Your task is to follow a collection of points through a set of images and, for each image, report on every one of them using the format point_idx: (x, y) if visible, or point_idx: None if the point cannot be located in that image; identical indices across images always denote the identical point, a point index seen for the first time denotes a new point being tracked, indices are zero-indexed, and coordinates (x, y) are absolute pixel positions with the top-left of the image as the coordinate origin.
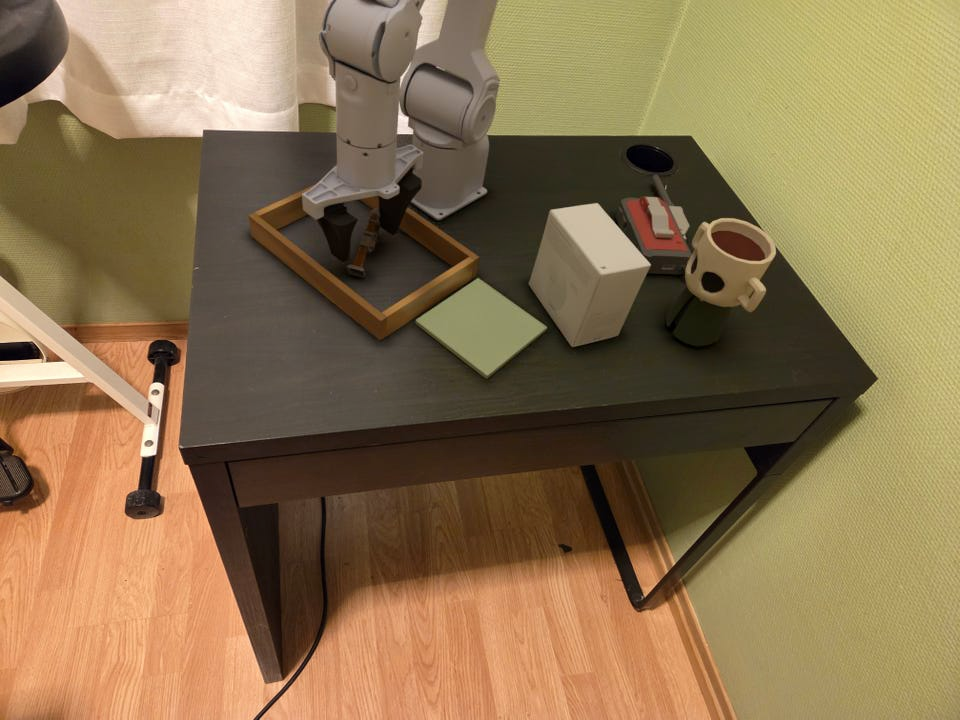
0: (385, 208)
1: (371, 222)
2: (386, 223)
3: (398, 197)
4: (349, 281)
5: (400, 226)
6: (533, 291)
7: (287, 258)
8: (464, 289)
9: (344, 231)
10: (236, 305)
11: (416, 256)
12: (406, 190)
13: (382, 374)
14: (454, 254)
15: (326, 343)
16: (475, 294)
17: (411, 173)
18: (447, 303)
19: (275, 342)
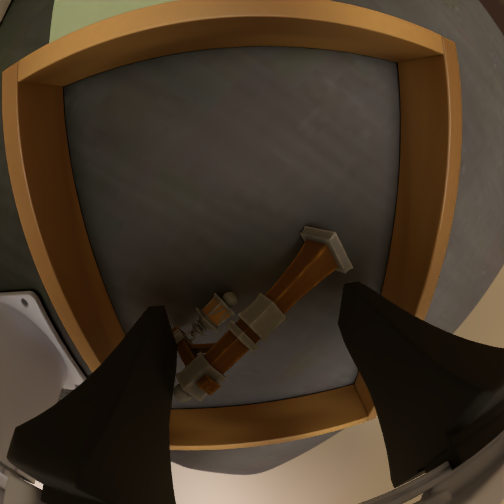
0: (160, 393)
1: (220, 368)
2: (167, 347)
3: (124, 436)
4: (339, 237)
5: (114, 322)
6: (8, 3)
7: None
8: None
9: (478, 351)
10: (468, 284)
11: (125, 220)
12: (89, 480)
13: (438, 11)
14: (40, 140)
15: (467, 131)
16: (100, 3)
17: (48, 487)
18: None
19: (493, 193)
